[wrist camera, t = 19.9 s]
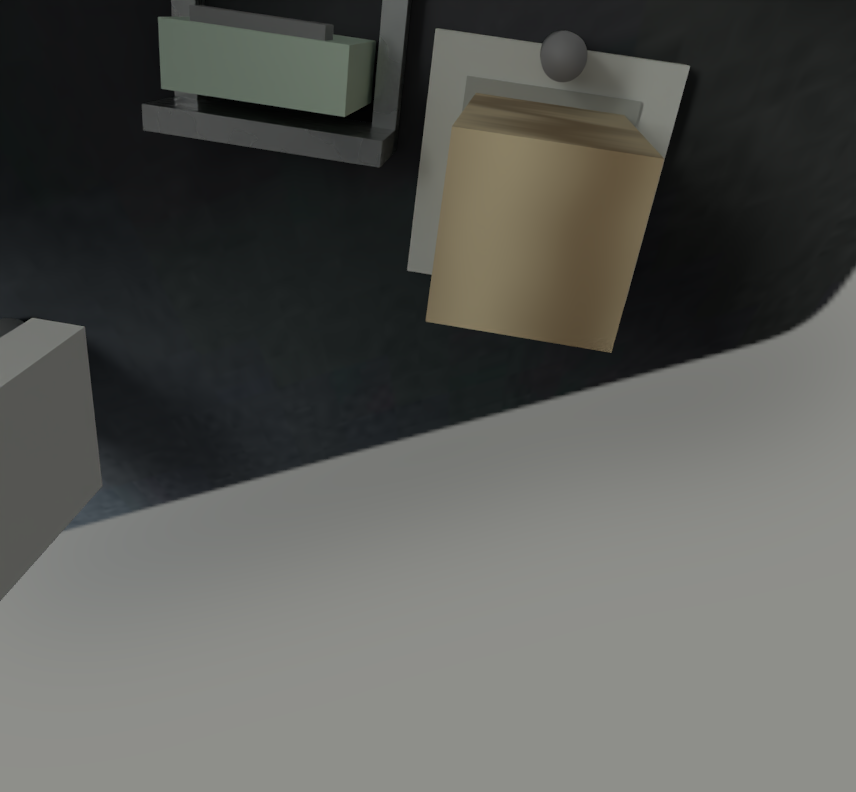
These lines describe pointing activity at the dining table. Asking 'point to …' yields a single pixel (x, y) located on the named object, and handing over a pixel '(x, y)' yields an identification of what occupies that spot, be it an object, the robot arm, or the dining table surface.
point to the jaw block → (541, 221)
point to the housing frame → (294, 127)
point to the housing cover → (265, 60)
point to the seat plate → (533, 81)
